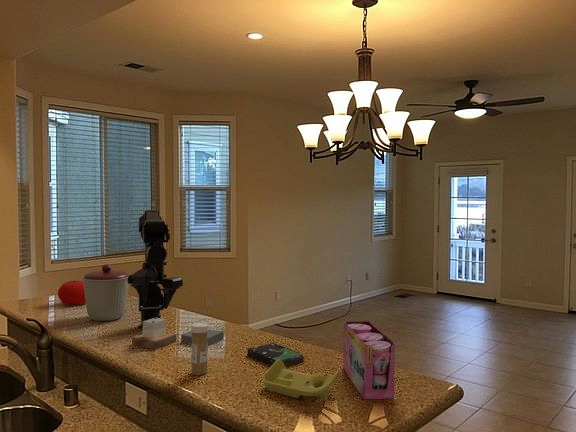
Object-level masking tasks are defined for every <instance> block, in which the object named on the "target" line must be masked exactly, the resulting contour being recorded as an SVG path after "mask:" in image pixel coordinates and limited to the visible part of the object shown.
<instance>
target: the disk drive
mask: <svg viewBox="0 0 576 432" xmlns="http://www.w3.org/2000/svg"><path fill="white" fill-rule="evenodd" d="M247 357H250V358H252V359H254V360H256V361H259V362H261V363H264V364H266V365H269V367H271V366H272V365H273V364H274V363H275V361H276V360H278V359H279V360H282V362H283V363H284V365H285V366H286V367H290V366H292V365H295V364H299V363H304V362H305V361H304V360H305V359H304V355H303V353H301V352H299V351H296V350H293V349H290V348H289V347H285V346H283V345H280V344H277V343H275V342H271V343H267V344H262V345H259V346H258V347H249V348H247Z"/></svg>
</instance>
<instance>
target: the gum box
mask: <svg viewBox="0 0 576 432" xmlns="http://www.w3.org/2000/svg"><path fill="white" fill-rule="evenodd" d="M342 345H343V348H342V349H343V351H342V352H343V353H342V354H343V355H342V369H343V370H344V371H345V373H346V375H347V376H348V378H349V379H350V381H351V382H352V384H353V385H354V387H355V388H356V389H357V391H358V392H359V394H360V395H361V397H362V398H363V400H388V399H389V400H391V399H393V400H394V399H395V371H396V370H395V369H396V361H395V360H396V358H395V357H396V353H395V352H396V351H395V350H396V349H395V348H396V343H394V341H393V339H390V338H389V337H388V336H387V335H386V334H384V333H383V332H382V331H381V330H380V329H378V327H376V326H375V325H374V324H373V323H372V322H371V321H369V320H367V321H366V320H365V321H364V320H363V321H361V320H357V321H356V320H355V321H350V320H349V321H344V322H343V343H342Z"/></svg>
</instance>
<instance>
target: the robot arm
mask: <svg viewBox="0 0 576 432" xmlns="http://www.w3.org/2000/svg"><path fill="white" fill-rule="evenodd" d="M143 213H144V214H142V215H141V216H140V217H138V233H139V234H140V237H139V238H141V239H140V240H141V241H142V242H143V244H144V262H142V267H141V269H139V270H137V271H135V272H134V273H132V274H130V275H129V277H128V284H129V285H130V286H131V287H132V288H134V289H135V290H136V292H137V295H138V312H140V324H139V325H137V328H142V329H143V321H146V320H149V319H153V318H155V317H156V318H161V319H162V317H161V311H164V309H165V310H166V309H168V308H169V305H170V304H171V302H172V299H173V297H174V295H175V293H176V292H177V290H179V289H180V288H181V287H183V285H184V283H183V282H184V281H183V279H182V278H181V277H178V276H169V277H167V274H166V273H165V266H167V261H165V260H166V259H167V255H168V252H167V249H166V248H165V245H164V243H165V244H166V243H169V241H170V239H171V235H170V234H171V233H170V227H169V226H168V224H166V221H165V220H163V217H161V216H160V214H159V213H160V212H159V210H155V209H145V210H144V212H143ZM159 285H161V286H162V288H161V287H160V286H159ZM162 292H163V293H162Z"/></svg>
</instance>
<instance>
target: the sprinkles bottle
mask: <svg viewBox="0 0 576 432" xmlns="http://www.w3.org/2000/svg"><path fill="white" fill-rule="evenodd" d="M190 327H191V328H190V331H191V332H192V344H191V371H190V372H191V374H193V375H194V376H202V375H206V374H207V373H208V371H209V369H208V358H209V357H208V356H209V354H208V351H209V350H208V347H209V346H208V344H207V333H208V329H209V324H208V323H205V322H196V323H193V324H191V326H190Z"/></svg>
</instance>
